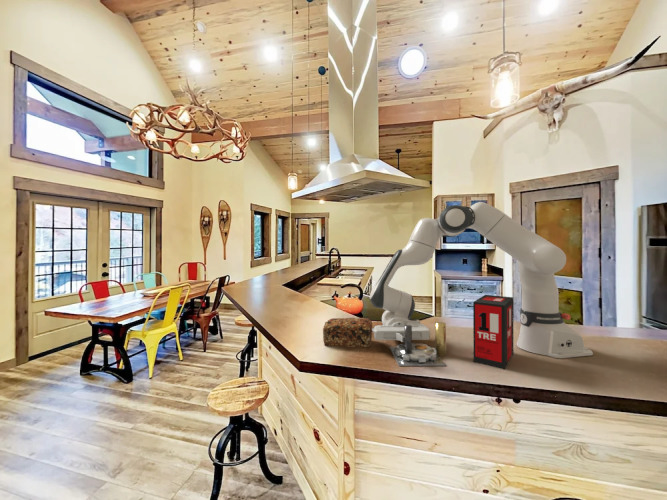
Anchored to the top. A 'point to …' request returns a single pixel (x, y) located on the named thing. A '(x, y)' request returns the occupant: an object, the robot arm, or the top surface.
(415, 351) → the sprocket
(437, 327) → the roller
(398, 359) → the base plate
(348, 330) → the bread
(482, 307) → the cleaning product box
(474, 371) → the top surface
